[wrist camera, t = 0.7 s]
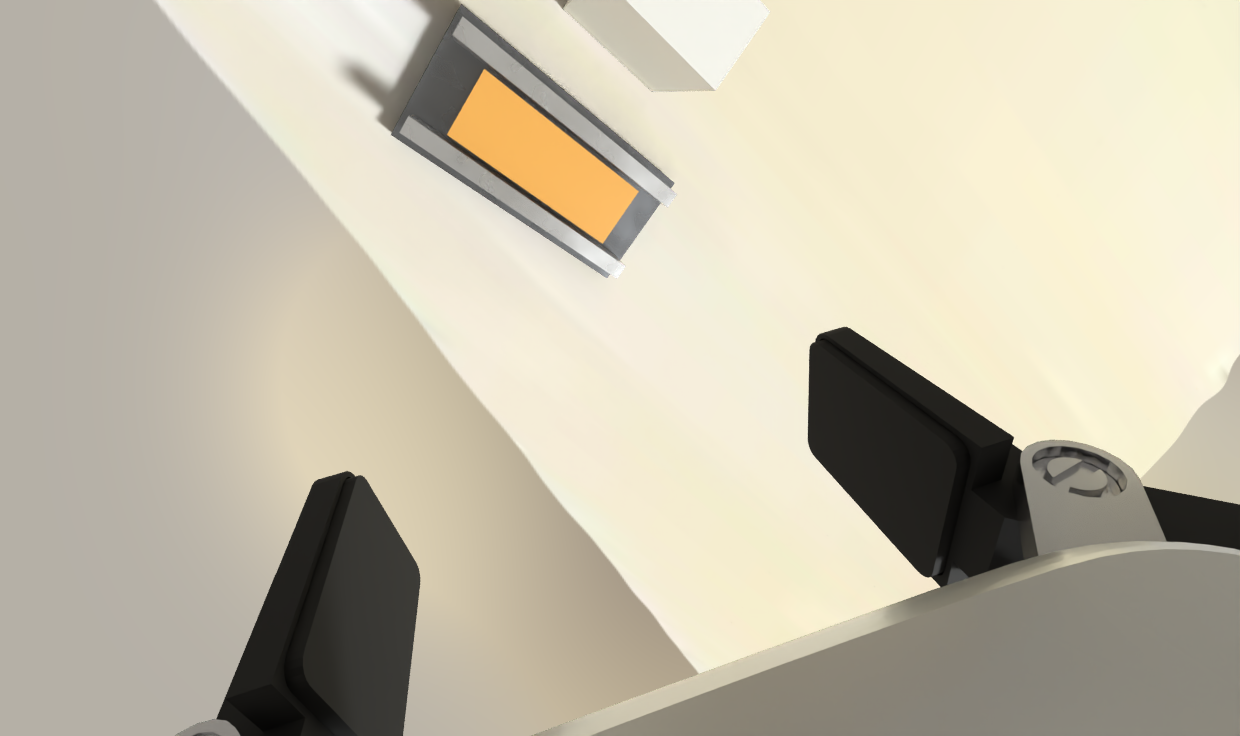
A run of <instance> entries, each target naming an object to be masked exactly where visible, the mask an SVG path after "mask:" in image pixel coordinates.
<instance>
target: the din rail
mask: <svg viewBox="0 0 1240 736" xmlns="http://www.w3.org/2000/svg"><path fill="white" fill-rule="evenodd" d="M484 69H485V70H486V71H488V72H489V73H490V74H492V75H493V76H494V77H495V78H497V79H498V80H499V81H500V82H502V83H503V84H504V85H505V86H507V87H508V88H509V89H510V90H512V91H513V92H514V93H515V94H517V95H518V96H519V97H521V98H522V99H523V100H524V101H526V102H527V103H528V104H529V105H531V106H532V107H533V108H534V109H536V110H537V111H538V112H539V113H541V114H542V115H543V116H544V117H546V118H547V119H548V120H549V121H551V122H552V123H553V124H555V125H556V126H557V127H558V128H560V129H561V130H562V131H563V132H565V133H566V134H567V135H568V136H570V137H571V138H572V139H573V140H575V141H576V142H577V143H578V144H580V145H581V146H582V147H583V148H585V149H586V150H587V151H589V152H590V153H591V154H592V155H594V156H595V157H596V158H597V159H599V160H600V161H601V162H602V163H604V164H605V165H606V166H607V167H609V168H610V169H611V170H612V171H614V172H615V173H616V174H617V175H619V176H620V177H621V178H623V179H624V180H625V181H626V182H628V183H629V184H630V185H631V186H633V187H634V188H635V189H636V190H638V191H639V192H638V193H637V195H636V196H635V198H634V199H633V201H632V202H631V204H630V205H629V206H628V208H627V209H626V211H625V212H624V214H623V215H622V217H621V218H620V219H619V221H618V222H617V224H616V225H615V227H614V228H613V230H612V231H611V232H610V234H609V235H608V237H607V238H606V240H605V241H604V243H603V244H602V243H601V242H599V241H598V240H596V239H595V238H594V237H592V236H591V235H589V234H588V233H586V232H585V231H584V230H582V229H581V228H579V227H578V226H576V225H575V224H574V223H572V222H571V221H569V220H568V219H566V218H565V217H564V216H562V215H561V214H559V213H558V212H556V211H555V210H554V209H552V208H551V207H549V206H548V205H546V204H545V203H544V202H542V201H541V200H539V199H538V198H536V197H535V196H534V195H532V194H531V193H529V192H528V191H526V190H525V189H524V188H522V187H521V186H519V185H518V184H516V183H515V182H514V181H512V180H511V179H509V178H508V177H506V176H505V175H504V174H502V173H501V172H499V171H498V170H496V169H495V168H494V167H492V166H491V165H489V164H488V163H486V162H485V161H484V160H482V159H481V158H479V157H478V156H476V155H475V154H474V153H472V152H471V151H469V150H468V149H466V148H465V147H464V146H462V145H461V144H459V143H458V142H457V141H455V140H454V139H452V138H451V137H449V136H448V135H447V134H448V132H449V130H450V128H451V127H452V125H453V123H454V121H455V120H456V118H457V116H458V114H459V112H460V111H461V109H462V107H463V105H464V104H465V102H466V100H467V98H468V97H469V95H470V93H471V91H472V90H473V88H474V86H475V84H476V83H477V81H478V79H479V77H480V76H481V74H482V72H483V70H484ZM391 135H392V136H394V137H395V138H397V139H398V140H400V141H401V142H403V143H404V144H406V145H407V146H409V147H410V148H412V149H413V150H415V151H416V152H418V153H419V154H421V155H422V156H424V157H425V158H427V159H428V160H430V161H431V162H433V163H434V164H436V165H437V166H439V167H440V168H442V169H443V170H445V171H446V172H448V173H449V174H451V175H452V176H454V177H455V178H457V179H458V180H460V181H461V182H463V183H464V184H466V185H467V186H469V187H470V188H472V189H473V190H475V191H476V192H478V193H479V194H481V195H482V196H484V197H485V198H487V199H488V200H490V201H491V202H493V203H494V204H496V205H497V206H499V207H500V208H502V209H503V210H505V211H506V212H508V213H509V214H511V215H512V216H514V217H516V218H517V219H519V220H520V221H522V222H523V223H525V224H526V225H528V226H529V227H531V228H532V229H534V230H535V231H537V232H538V233H540V234H541V235H543V236H544V237H546V238H547V239H549V240H550V241H552V242H553V243H555V244H556V245H558V246H559V247H561V248H562V249H564V250H565V251H567V252H568V253H570V254H571V255H573V256H574V257H576V258H577V259H579V260H580V261H582V262H583V263H585V264H586V265H588V266H589V267H591V268H592V269H594V270H595V271H597V272H598V273H600V274H601V275H603V276H604V277H606V278H608V276H609V275H610V274H611V275H612V276H614V277H615V278H618V276H619V275H620V274H621V272H622V271H623V269H624V268H625V267H626V266H625V265H624V264H623V263H622V262H621V261H620V259H621V258H622V256H623V255H624V254H625V252H626V251H627V249H628V248H629V247H630V245H631V244H632V242H633V241H634V240H635V238H636V237H637V235H638V234H639V233H640V231H641V230H642V228H643V227H644V225H645V224H646V223H647V221H648V220H649V218H650V217H651V216H652V214H653V213H654V211H655V210H656V209H657V207H658V206H659V204H660V203H661V204H662V205H664V206H666V207H668V206H669V205H670V204H671V202H672V201H673V199H674V198H675V197H676V195H677V194H676V193H675V192H674V191H673V190H672V189H671V187H672V186H673V185H674V182H673V181H671V180H670V179H669V178H668V177H667V176H666V175H664V174H663V173H662V172H661V171H660V170H658V169H657V168H656V167H655V166H654V165H652V164H651V163H650V162H649V161H648V160H646V159H645V158H644V157H643V156H642V155H640V154H639V153H638V152H637V151H636V150H635V149H633V148H632V147H631V146H630V145H629V144H627V143H626V142H625V141H624V140H623V139H621V138H620V137H619V136H618V135H617V134H615V133H614V132H613V131H612V130H611V129H610V128H608V127H607V126H606V125H605V124H604V123H602V122H601V121H600V120H599V119H598V118H596V117H595V116H594V115H593V114H592V113H590V112H589V111H588V110H587V109H586V108H585V107H583V106H582V105H581V104H580V103H579V102H577V101H576V100H575V99H574V98H573V97H571V96H570V95H569V94H568V93H567V92H565V91H564V90H563V89H562V88H561V87H560V86H558V85H557V84H556V83H555V82H554V81H552V80H551V79H550V78H549V77H548V76H546V75H545V74H544V73H543V72H542V71H540V70H539V69H538V68H537V67H536V66H535V65H533V64H532V63H531V62H530V61H529V60H527V59H526V58H525V57H524V56H523V55H521V54H520V53H519V52H518V51H517V50H515V49H514V48H513V47H512V46H511V45H510V44H508V43H507V42H506V41H505V40H504V39H502V38H501V37H500V36H499V35H498V34H496V33H495V32H494V31H493V30H492V29H490V28H489V27H488V26H487V25H486V24H485V23H483V22H482V21H481V20H480V19H479V18H477V17H476V16H475V15H474V14H473V13H471V12H470V11H469V10H468V9H467V8H465V7H464V6H463V5H462V4H461V5H460V7H459V9H458V11H457V13H456V15H455V17H454V18H453V20H452V22H451V24H450V26H449V28H448V30H447V31H446V33H445V35H444V37H443V39H442V41H441V43H440V44H439V46H438V48H437V50H436V52H435V54H434V56H433V57H432V59H431V61H430V63H429V65H428V67H427V69H426V70H425V72H424V74H423V76H422V78H421V80H420V82H419V83H418V85H417V87H416V89H415V91H414V93H413V95H412V96H411V98H410V100H409V102H408V104H407V106H406V108H405V109H404V111H403V113H402V115H401V117H400V119H399V121H398V122H397V124H396V126H395V128H394V130H393V132H392V134H391Z"/></svg>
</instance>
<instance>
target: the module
mask: <svg viewBox="0 0 1240 736" xmlns="http://www.w3.org/2000/svg"><path fill="white" fill-rule="evenodd" d="M563 10H564V11H565V12H566V13H567V14H568V15H570V16H571V17H572V18H573V19H574V20H575V21H576V22H577V23H578V24H579V25H580V26H581V27H582V28H584V29H585V30H586V31H587V32H588V33H589V34H590V35H591V36H592V37H593V38H594V39H595V40H596V41H598V42H599V43H600V44H601V45H602V46H603V47H604V48H605V49H606V50H607V51H608V52H609V53H610V54H612V55H613V56H614V57H615V58H616V59H617V60H618V61H619V62H620V63H621V64H622V65H623V66H624V67H626V68H627V69H628V70H629V71H630V72H631V73H632V74H633V75H634V76H635V77H636V78H637V79H638V80H640V81H641V82H642V83H643V84H644V85H645V86H646V87H647V88H648V89H649V90H650V91H651V92H672V91H716V89H717V88H718V86H719V85H720V84H721V82H722V81H723V79H724V78H725V76H726V75H727V74H728V72H729V71H730V69H731V68H732V66H733V65H734V63H735V62H736V61H737V59H738V58H739V56H740V55H741V53H742V52H743V51H744V49H745V48H746V46H747V45H748V43H749V42H750V40H751V39H752V38H753V36H754V35H755V33H756V32H757V30H758V29H759V28H760V26H761V25H762V23H763V22H764V20H765V19H766V17H767V16H768V15H769V13H770V11H769V10H768V9H767V8H766V6H765V5H764V4H763V3H762V2H761V0H568V1H567V3H566V5H565V6H564V8H563Z"/></svg>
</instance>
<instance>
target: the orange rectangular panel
mask: <svg viewBox="0 0 1240 736" xmlns="http://www.w3.org/2000/svg"><path fill="white" fill-rule="evenodd" d="M447 135H448V136H449V137H451V138H452V139H454V140H455V141H457V142H458V143H459V144H461V145H462V146H464V147H465V148H466V149H468V150H469V151H471V152H472V153H474V154H475V155H476V156H478V157H479V158H481V159H482V160H484V161H485V162H486V163H488V164H489V165H491V166H492V167H494V168H495V169H496V170H498V171H499V172H501V173H502V174H504V175H505V176H506V177H508V178H509V179H511V180H512V181H514V182H515V183H516V184H518V185H519V186H521V187H522V188H524V189H525V190H526V191H528V192H529V193H531V194H532V195H534V196H535V197H536V198H538V199H539V200H541V201H542V202H544V203H545V204H546V205H548V206H549V207H551V208H552V209H554V210H555V211H556V212H558V213H559V214H561V215H562V216H564V217H565V218H566V219H568V220H569V221H571V222H572V223H574V224H575V225H576V226H578V227H579V228H581V229H582V230H584V231H585V232H586V233H588V234H589V235H591V236H592V237H594V238H595V239H596V240H598V241H599V242H601V243H602V244H603V243H604V241H605V240H606V238H607V237H608V235H609V234H610V232H611V231H612V230H613V228H614V227H615V225H616V224H617V222H618V221H619V219H620V218H621V217H622V215H623V214H624V212H625V211H626V209H627V208H628V206H629V205H630V204H631V202H632V201H633V199H634V198H635V196H636V195H637V193H638V192H639V191H638V190H636V189H635V188H634V187H633V186H631V185H630V184H629V183H628V182H626V181H625V180H624V179H623V178H621V177H620V176H619V175H617V174H616V173H615V172H614V171H612V170H611V169H610V168H609V167H607V166H606V165H605V164H604V163H602V162H601V161H600V160H599V159H597V158H596V157H595V156H594V155H592V154H591V153H590V152H589V151H587V150H586V149H585V148H583V147H582V146H581V145H580V144H578V143H577V142H576V141H575V140H573V139H572V138H571V137H570V136H568V135H567V134H566V133H565V132H563V131H562V130H561V129H560V128H558V127H557V126H556V125H555V124H553V123H552V122H551V121H549V120H548V119H547V118H546V117H544V116H543V115H542V114H541V113H539V112H538V111H537V110H536V109H534V108H533V107H532V106H531V105H529V104H528V103H527V102H526V101H524V100H523V99H522V98H521V97H519V96H518V95H517V94H515V93H514V92H513V91H512V90H510V89H509V88H508V87H507V86H505V85H504V84H503V83H502V82H500V81H499V80H498V79H497V78H495V77H494V76H493V75H492V74H490V73H489V72H488V71H486V70H485V69H484V70H483V72H482V74H481V76H480V77H479V79H478V81H477V83H476V84H475V86H474V88H473V90H472V91H471V93H470V95H469V97H468V98H467V100H466V102H465V104H464V105H463V107H462V109H461V111H460V112H459V114H458V116H457V118H456V120H455V121H454V123H453V125H452V127H451V128H450V130H449V132H448V134H447Z"/></svg>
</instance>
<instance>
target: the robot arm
mask: <svg viewBox="0 0 1240 736" xmlns="http://www.w3.org/2000/svg"><path fill="white" fill-rule="evenodd" d="M1013 439H1014V437H1013V436H1012V435H1010V434H1009V433H1007V432H1005V431H1004V430H1002V429H1001V428H999V427H998V426H996V425H995V424H993V423H992V422H990V421H989V420H987V419H986V418H984V417H983V416H981V415H980V414H978V413H977V412H975V411H974V410H972V409H971V408H969V407H968V406H966V405H965V404H963V403H962V402H960V401H959V400H957V399H956V398H954V397H953V396H951V395H950V394H948V393H947V392H945V391H944V390H942V389H941V388H939V387H938V386H936V385H935V384H933V383H932V382H930V381H929V380H927V379H926V378H924V377H923V376H921V375H919V374H918V373H916V372H915V371H913V370H912V369H910V368H909V367H907V366H906V365H904V364H903V363H901V362H900V361H898V360H897V359H895V358H894V357H892V356H891V355H889V354H888V353H886V352H885V351H883V350H882V349H880V348H879V347H877V346H876V345H874V344H873V343H871V342H870V341H868V340H867V339H865V338H864V337H862V336H861V335H859V334H858V333H856V332H855V331H853V330H852V329H850V328H848V327H842V328H838V329H835V330H831V331H828V332H824V333H821V334H819V335H818V336H817V338H816V341H815V342H814V343H812V344H811V346H810V354H809V404H808V444H809V447H810V450H811V452H812V454H813V455H814V456H815V458H816V459H817V460H818V461H819V462H820V463H821V464H822V465H823V466H824V468H825V469H826V470H827V471H828V472H829V473H830V474H831V475H832V476H833V478H834V479H835V480H836V481H837V482H838V483H839V484H840V485H841V486H842V488H843V489H844V490H845V491H846V492H847V493H848V494H849V495H850V496H851V498H852V499H853V500H854V501H855V502H856V503H857V504H858V505H859V506H860V508H861V509H862V510H863V511H864V512H865V513H866V514H867V515H868V516H869V518H870V519H871V520H872V521H873V522H874V523H875V524H876V525H877V526H878V528H879V529H880V530H881V531H882V532H883V533H884V534H885V535H886V536H887V538H888V539H889V540H890V541H891V542H892V543H893V544H894V545H895V546H896V548H897V549H898V550H899V551H900V552H901V553H902V554H903V555H904V556H905V558H906V559H907V560H908V561H909V562H910V563H911V564H912V565H913V566H914V568H915V569H916V570H917V571H918V572H919V573H920V574H921V575H923V576H925V577H932V578H933V579H934V580H935V581H936V582H937V583H938V585H939V586H940V588H937V589H934V590H931V591H928V592H926V593H923V594H920V595H917V596H914V597H912V598H909V599H906V600H903V601H900V602H898V603H895V604H892V605H889V606H886V607H884V608H881V609H878V610H875V611H872V612H870V613H867V614H864V615H861V616H858V617H856V618H853V619H850V620H847V621H844V622H842V623H839V624H836V625H833V626H830V627H828V628H825V629H822V630H819V631H816V632H814V633H811V634H808V635H805V636H802V637H800V638H797V639H794V640H791V641H789V642H786V643H783V644H780V645H778V646H775V647H772V648H769V649H767V650H764V651H761V652H758V653H756V654H753V655H750V656H747V657H744V658H742V659H739V660H736V661H733V662H731V663H728V664H725V665H722V666H720V667H717V668H714V669H711V670H709V671H706V672H703V673H700V674H698V675H695V676H692V677H690V678H687V679H684V680H681V681H678V682H676V683H673V684H670V685H667V686H665V687H662V688H659V689H657V690H654V691H651V692H648V693H646V694H643V695H640V696H637V697H635V698H632V699H629V700H626V701H624V702H621V703H618V704H615V705H613V706H610V707H607V708H605V709H602V710H599V711H597V712H594V713H591V714H589V715H586V716H583V717H580V718H578V719H575V720H572V721H569V722H567V723H564V724H561V725H559V726H556V727H553V728H551V729H548V730H545V731H543V732H540V733H537V734H534V735H532V736H1240V505H1238V504H1234V503H1228V502H1223V501H1218V500H1213V499H1207V498H1202V497H1197V496H1192V495H1187V494H1182V493H1176V492H1171V491H1166V490H1160V489H1156V488H1150V487H1145V486H1143V485H1142V483H1141V480H1140V479H1139V477H1138V476H1137V474H1136V473H1135V472H1134V470H1133V469H1132V468H1131V467H1130V466H1128V465H1127V464H1126V463H1125V462H1123V461H1122V460H1121V459H1119V458H1117V457H1116V456H1114V455H1112V454H1110V453H1108V452H1106V451H1104V450H1101V449H1098V448H1096V447H1093V446H1090V445H1087V444H1083V443H1078V442H1073V441H1065V440H1047V441H1040V442H1036V443H1034V444H1031V445H1029V446H1027V447H1026V448H1025V449H1024V450H1023V451H1021V450H1020V449H1018V448H1017V447H1016V446H1014V445H1013V444H1012V442H1013ZM419 589H420V573H419V568H418V566H417V564H416V562H415V560H414V558H413V557H412V555H411V553H410V552H409V550H408V548H407V547H406V545H405V543H404V542H403V540H402V538H401V537H400V535H399V533H398V532H397V530H396V528H395V527H394V525H393V523H392V522H391V520H390V518H389V517H388V515H387V513H386V512H385V510H384V508H383V507H382V505H381V503H380V502H379V500H378V498H377V497H376V495H375V494H374V492H373V490H372V489H371V487H370V485H369V483H368V482H367V480H366V479H365V478H364V477H363V476H361V475H360V476H356V477H355V476H354V474H352V473H351V472H348V471H346V472H343V473H339V474H336V475H332V476H329V477H325V478H322V479H318V480H317V481H315V482H314V483H313V485H312V487H311V490H310V492H309V495H308V497H307V500H306V502H305V505H304V507H303V509H302V512H301V514H300V517H299V519H298V522H297V524H296V527H295V529H294V532H293V534H292V536H291V539H290V541H289V544H288V546H287V549H286V551H285V553H284V556H283V558H282V561H281V563H280V566H279V568H278V571H277V573H276V575H275V577H274V580H273V582H272V584H271V587H270V589H269V592H268V594H267V597H266V599H265V601H264V604H263V606H262V609H261V611H260V614H259V616H258V619H257V621H256V623H255V626H254V628H253V631H252V633H251V636H250V638H249V641H248V643H247V645H246V648H245V651H244V653H243V655H242V658H241V660H240V663H239V665H238V667H237V670H236V672H235V675H234V677H233V680H232V682H231V685H230V687H229V690H228V692H227V694H226V697H225V699H224V702H223V704H222V707H221V709H220V712H219V714H218V717H217V719H212V720H209V721H205V722H201V723H197V724H195V725H193V726H191V727H189V728H188V729H186V730H184V731H182V732H180V733H178V734H177V735H175V736H403V729H404V721H405V712H406V703H407V694H408V685H409V676H410V667H411V659H412V651H413V642H414V632H415V624H416V615H417V607H418V597H419Z"/></svg>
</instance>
